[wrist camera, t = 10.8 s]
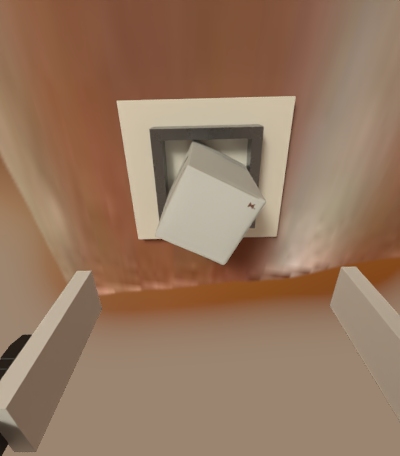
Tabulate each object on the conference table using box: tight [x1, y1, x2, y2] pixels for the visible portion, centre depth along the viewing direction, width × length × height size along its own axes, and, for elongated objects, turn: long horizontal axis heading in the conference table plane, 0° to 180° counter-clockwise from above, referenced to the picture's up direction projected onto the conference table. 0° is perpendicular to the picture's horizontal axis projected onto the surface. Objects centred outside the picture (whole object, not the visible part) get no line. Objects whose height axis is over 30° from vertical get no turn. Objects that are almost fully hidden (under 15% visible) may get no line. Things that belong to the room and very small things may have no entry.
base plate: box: [117, 96, 296, 239], centre depth 33 cm, size 18×20×1 cm
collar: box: [149, 124, 264, 228], centre depth 31 cm, size 12×12×2 cm
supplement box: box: [155, 140, 266, 265], centre depth 27 cm, size 7×7×13 cm
